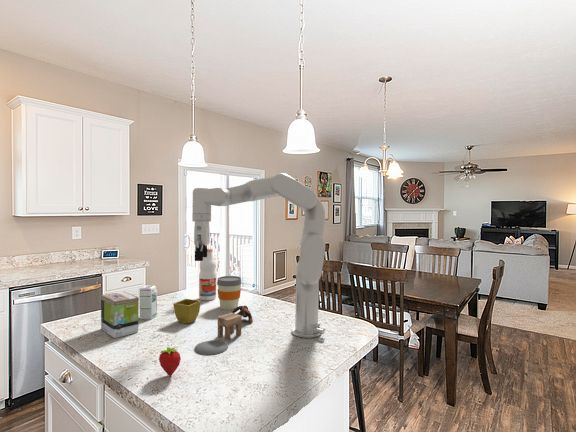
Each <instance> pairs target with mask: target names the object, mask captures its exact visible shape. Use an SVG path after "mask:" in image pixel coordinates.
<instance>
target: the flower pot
mask: <svg viewBox="0 0 576 432" xmlns="http://www.w3.org/2000/svg"><path fill="white" fill-rule="evenodd" d="M201 302H202V300H200V299H197V300H196V299H191V298H184V299H181V300H179V301H176V302H174V303H173V310H174V316H175V318H176V319H177V321H178V322H179V323H183V324H190V323H192V322H194V321H196V320H197V318H198V316H199V314H200V310H201Z"/></svg>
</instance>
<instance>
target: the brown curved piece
mask: <svg viewBox="0 0 576 432" xmlns="http://www.w3.org/2000/svg"><path fill="white" fill-rule="evenodd" d="M230 313H235V314H238V315H241V316H242V318H248V320H249V321H250V324H251V325H252V324H253V322H254V319H253V315H252V313H251V311H250V310H249V307H248V306H247V305H238V307H236V308H235V309H232V310H231V312H230Z"/></svg>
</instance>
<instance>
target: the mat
mask: <svg viewBox="0 0 576 432" xmlns="http://www.w3.org/2000/svg"><path fill="white" fill-rule="evenodd" d="M228 346H229V345H228V343H227V342H225V341H222V340H215V339H213V340H205V341H201V342H199V343H197V344H196V345H195V346H194V351H195V353H197V354H199V355H202V356H214V355H219V354H221V353H224V352H225V351H227V350H228V348H229V347H228Z"/></svg>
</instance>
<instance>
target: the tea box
mask: <svg viewBox="0 0 576 432" xmlns="http://www.w3.org/2000/svg"><path fill="white" fill-rule="evenodd" d="M100 299H101V300H100V304H101V305H100V329H101V331H102V330H103V331H104V332H105V333H106V334H108V335H109V336H110V337H112V338H114V339H117V338H121V337H124V336H128V335H132V334H133V335H134V334H137V333H139V314H140V299H139V296H136V295H134V294H132V293H130V292H127V291H117V292H112V293H107V294H106V293H105V294H101V296H100Z"/></svg>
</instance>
